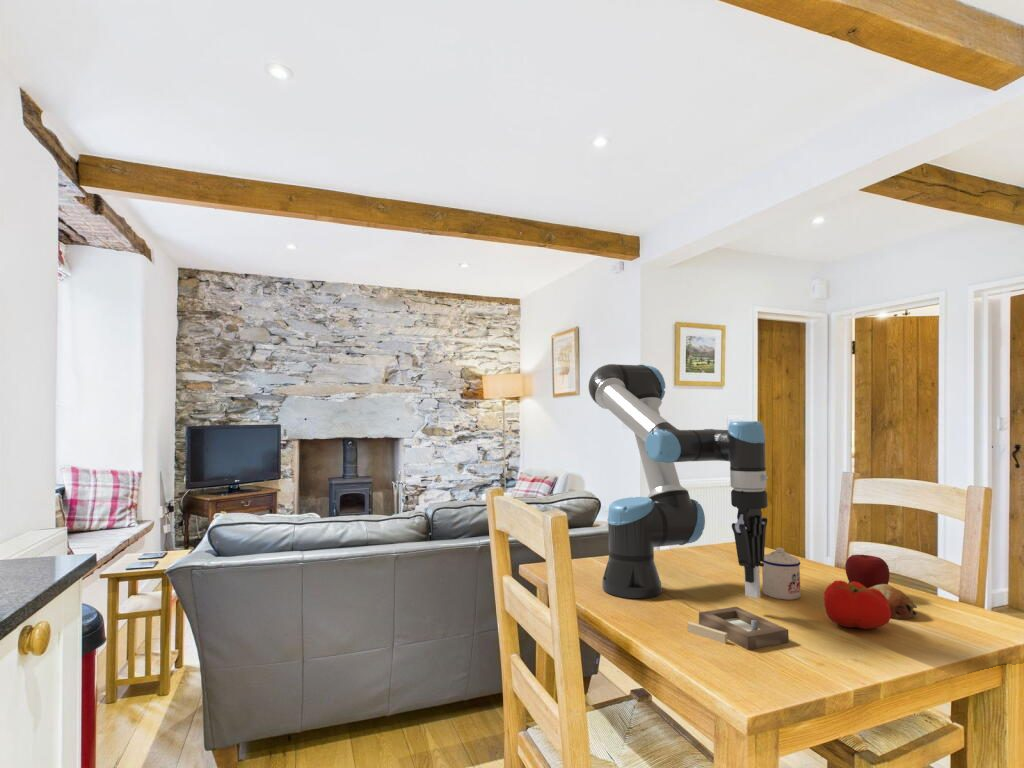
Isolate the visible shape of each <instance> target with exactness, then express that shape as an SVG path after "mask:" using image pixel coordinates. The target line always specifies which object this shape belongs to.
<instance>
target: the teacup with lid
mask: <svg viewBox="0 0 1024 768" xmlns="http://www.w3.org/2000/svg"><path fill="white" fill-rule="evenodd" d="M761 563H764V566H763V567H761V572H762V573H761V574H762V575H761V576H762V593H763V594H764V595H766V596H767V597H769V598H774V599H778V600H784V601H785V600H786V601H788V600H789V601H794V600H797V599H798V600H799V598H801V576H800V575H801V574H800V571H801V570H800V567H801V566H800V565H801V560H800V559H799V558H798V557H795V556H793V555H791V554H790V553H788V552H786V551H785V548H784V547H775V551H771V552H769V553H764V561H763V562H761Z"/></svg>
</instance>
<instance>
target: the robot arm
mask: <svg viewBox="0 0 1024 768" xmlns="http://www.w3.org/2000/svg"><path fill="white" fill-rule="evenodd" d="M665 389H666V382H665V378H664V376H663V374H662V373H661V371H660V370H659V369H658V368H656V367H655V366H653V365H646V364H616V363H610V364H609V363H608V364H604V365H602V366H600V367H598V368H597V369H596V370H595V371H594V372H593V373H592V375H591V376H590V378H589V381H588V392H589V395H590V397H591V399H592V401H594V402H595V404H597V405H598V407H600V408H602V409H605V410H608V411H610V412H611V413H612V415H614V416H615V417H617V419H619V420H620V421H621V422H622V423H623V424H624V425H625V426H626V427H628V429H629V430H631V431H632V432H633V433H634V436H635V440H636V445H637V449H638V452H639V455H640V461H641V463H642V467H643V471H644V474H645V478H646V481H647V482H646V483H647V486H648V490H649V494H648V495H647V497H645V496H635V497H632V496H631V497H630V496H629V497H625V498H624V497H623V498H620V499H616V500H614V501H612V502H611V503H610V505H609V506H608V513H607V523H608V524H607V525H608V526H607V527H608V530H607V531H608V532H607V533H608V560H607V564H606V566H605V571H604V573H603V577H602V580H601V581H602V583H601V585H602V587H601V588H602V590H603V591H604V592H605V593H607V594H609V595H612V596H615V597H618V598H627V599H647V598H648V599H649V598H654V597H657V596H659V595H661V593H662V581H661V579H660V576H659V572H658V569H657V566H656V563H655V557H654V556H655V553H654V552H655V551H654V548H658V547H659V548H660V547H667V546H679V545H680V546H684V545H687V544H693V543H695V542H696V541H698V540H699V539H701V536H702V535H703V533H704V532H703V531H704V530H705V524H706V516H705V512H704V508H703V507H702V505H701V504H700V503H699V502H698V501H697V500H695V499H693V498H691V497H690V494H689V490H688V489H686V488H685V487H683V486H682V485H681V482H680V479H679V475H678V472H677V469H676V465H675V463H685V462H709V461H710V462H711V461H712V462H713V461H714V462H715V461H718V462H719V461H721V462H729V465H730V466H729V470H730V471H729V474H730V475H729V477H730V479H729V481H730V487H731V488H732V490H731V491H730V501H731V506H733V507H734V508H736V509H737V514H736V517H737V518H736V519H737V522H735V523H734V522H732V523H731V530H732V532H733V536H734V543H735V547H736V548H735V549H736V554H737V560H738V565H739V567H740V566H741V567H743V570H744V593H745V594H744V595H745V596H746V597H750V598H754V599H759V598H761V581H760V580H761V579H760V578H761V577H760V567H761V568H762V567H763V566H764V563H762V562H763V561H764V555H765V547H766V546H765V545H766V533H767V531H766V530H767V525H768V518H767V517H763V512H762V509H766V508H767V507H768V492H767V491H766V490H765V489H766V488H767V480H768V479H769V476H768V475H767V467H766V464H767V463H766V461H767V460H766V435H765V429H764V424H763V423H762V422H761V421H759V420H758V421H757V420H755V421H752V420H751V421H745V420H744V421H742V420H741V421H730V422H729V423H728V429H715V428H709V429H708V428H704V429H679V428H677V427H675V426H674V425H672V424H671V423H670V422H668V421H667V420H666V419H665V418H664V417H662V416H661V413H660V410H659V408H660V407H661V406H662V404H663V403H662V402H663V401H662V400H663V399H664V397H665V394H666V391H665Z"/></svg>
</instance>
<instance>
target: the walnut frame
mask: <svg viewBox="0 0 1024 768" xmlns="http://www.w3.org/2000/svg"><path fill="white" fill-rule="evenodd" d="M751 620H756V621H758V630H754V631H751ZM698 624H699V625H702V626H705V627H709V628H712V629H715V630H719V631H722V632H725V633H727V641H728V640H729V641H730V642H732V643H734V644H736V645H738V646H740V647H742V648H744V649H746V650H747V651H749V650H750V651H751V650H755V649H759V648H764V647H771V646H776V645H780V644H787V643H789V637H790V636H789V629H787V628H785V627H783V626H781V625H780V624H776V623H774V622H772V621H769V620H768V619H765V618H763V617H761V616H758V615H757V614H754V613H752V612H750V611H747V610H745V609H743V608H740V607H739V606H733V607H732V606H730V607H725V608H719V609H718V608H717V609H713V610H704V611H699V612H698Z"/></svg>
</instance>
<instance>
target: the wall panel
mask: <svg viewBox="0 0 1024 768" xmlns="http://www.w3.org/2000/svg"><path fill="white" fill-rule="evenodd" d="M686 625H687V633H690V634H694V635H696V636H699V637H703V638H706V639H709V640H713V641H715V642H719V643H722V644H727V643H728V639H727V633H725V632H722V631H719V630H715V629H712V628H709V627H705V626H702V625H700V624H699V623H695V622H692V621H689V622H687V623H686ZM754 630H758V621H756V620H751V631H754Z"/></svg>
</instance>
